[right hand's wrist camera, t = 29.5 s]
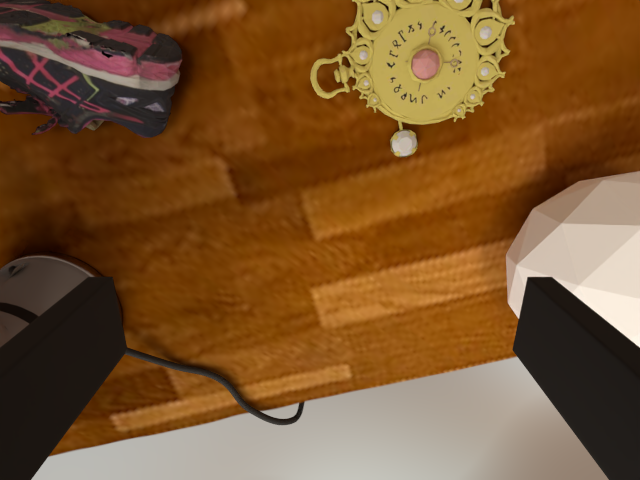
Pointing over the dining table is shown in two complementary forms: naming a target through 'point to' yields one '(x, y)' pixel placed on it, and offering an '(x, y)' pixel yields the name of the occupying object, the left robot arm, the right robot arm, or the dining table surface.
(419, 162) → the dining table surface
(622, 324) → the sphere
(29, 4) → the athletic shoe
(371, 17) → the decorative object
